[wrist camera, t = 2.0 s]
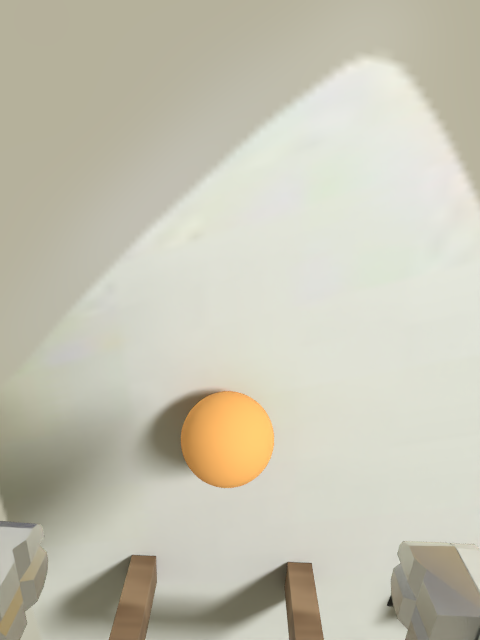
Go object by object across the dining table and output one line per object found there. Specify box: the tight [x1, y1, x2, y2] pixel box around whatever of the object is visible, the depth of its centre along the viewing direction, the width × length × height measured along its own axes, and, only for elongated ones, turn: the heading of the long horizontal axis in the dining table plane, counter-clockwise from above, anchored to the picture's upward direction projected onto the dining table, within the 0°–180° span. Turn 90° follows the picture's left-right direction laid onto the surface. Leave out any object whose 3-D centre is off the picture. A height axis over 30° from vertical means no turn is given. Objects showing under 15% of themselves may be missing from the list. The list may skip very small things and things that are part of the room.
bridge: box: [109, 555, 324, 640], centre depth 32 cm, size 3×15×10 cm, turn 87°
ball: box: [181, 391, 274, 488], centre depth 28 cm, size 6×6×6 cm
